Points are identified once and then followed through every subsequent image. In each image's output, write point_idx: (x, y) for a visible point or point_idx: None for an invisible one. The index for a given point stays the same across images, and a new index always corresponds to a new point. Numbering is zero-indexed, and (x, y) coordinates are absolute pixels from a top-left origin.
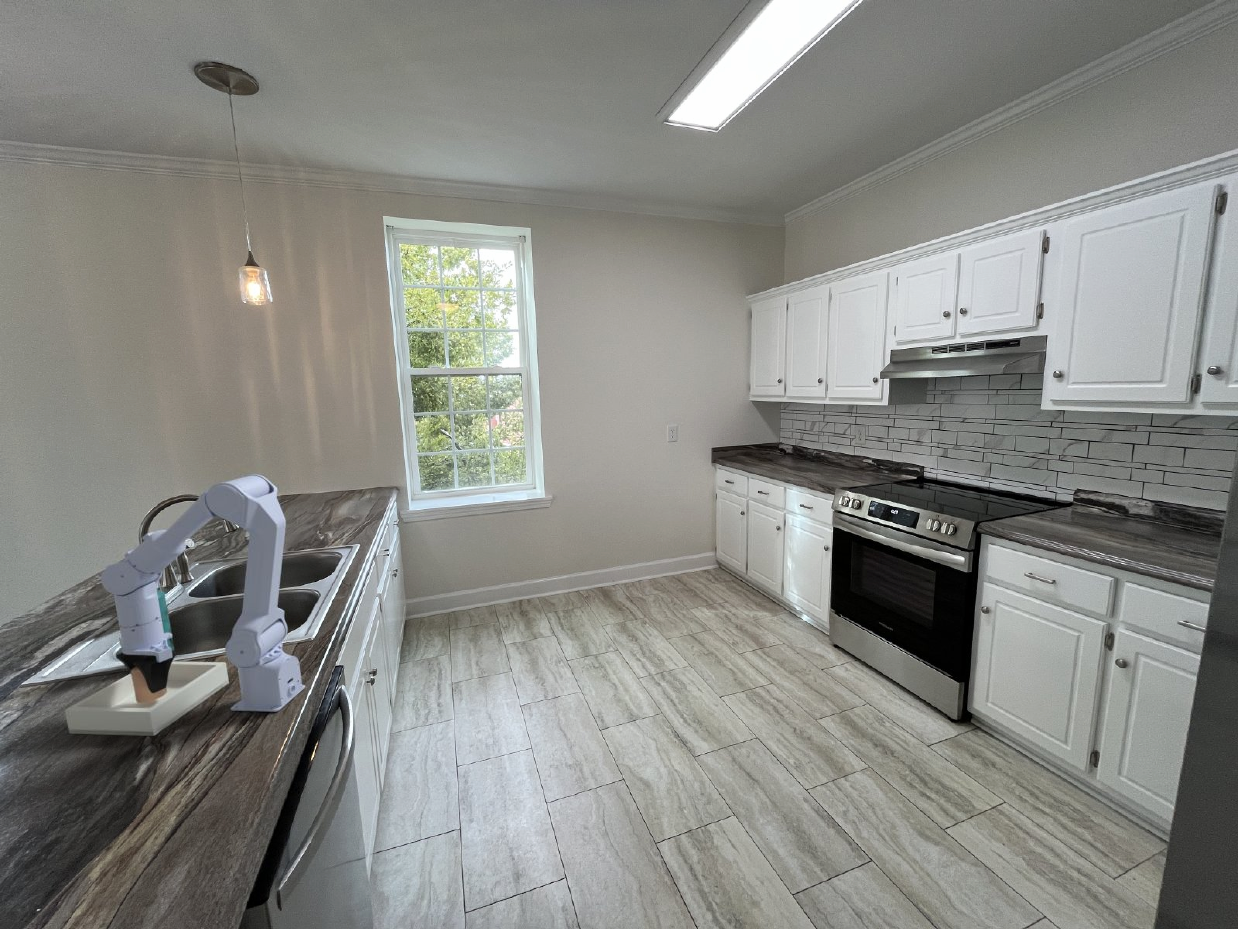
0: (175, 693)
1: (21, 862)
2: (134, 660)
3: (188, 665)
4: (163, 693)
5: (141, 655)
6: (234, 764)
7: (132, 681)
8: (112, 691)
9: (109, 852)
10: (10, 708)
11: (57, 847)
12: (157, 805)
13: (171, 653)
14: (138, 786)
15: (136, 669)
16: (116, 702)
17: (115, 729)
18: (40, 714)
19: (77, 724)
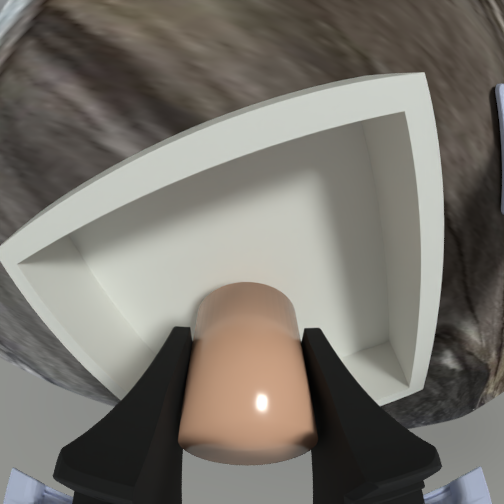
0: (424, 338)
1: (428, 422)
2: (173, 478)
3: (181, 177)
4: (293, 309)
5: (165, 483)
6: None
7: (85, 323)
8: (127, 375)
9: (489, 386)
10: (4, 359)
11: (445, 410)
12: (500, 359)
13: (486, 484)
14: (466, 368)
15: (230, 459)
16: (135, 337)
17: None
18: (49, 366)
19: None
